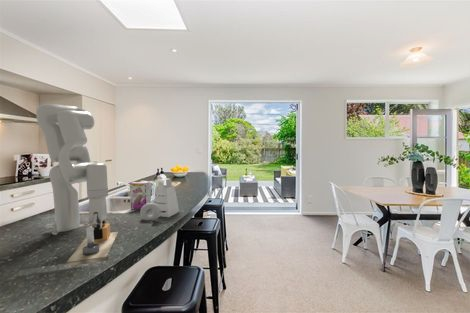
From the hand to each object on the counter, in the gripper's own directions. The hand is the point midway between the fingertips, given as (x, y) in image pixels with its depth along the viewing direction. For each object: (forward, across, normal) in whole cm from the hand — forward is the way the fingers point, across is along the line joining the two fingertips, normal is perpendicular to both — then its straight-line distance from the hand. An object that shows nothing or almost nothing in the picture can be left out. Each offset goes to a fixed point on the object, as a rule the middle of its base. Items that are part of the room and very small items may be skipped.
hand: (100, 235), depth 102 cm
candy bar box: (+3, -50, +12) cm, 52 cm away
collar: (+1, 0, 0) cm, 1 cm away
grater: (+3, -32, +27) cm, 42 cm away
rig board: (+3, +7, 0) cm, 7 cm away
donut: (+3, -20, +19) cm, 28 cm away
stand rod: (+1, 0, 0) cm, 1 cm away
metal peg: (+1, +14, 0) cm, 14 cm away
